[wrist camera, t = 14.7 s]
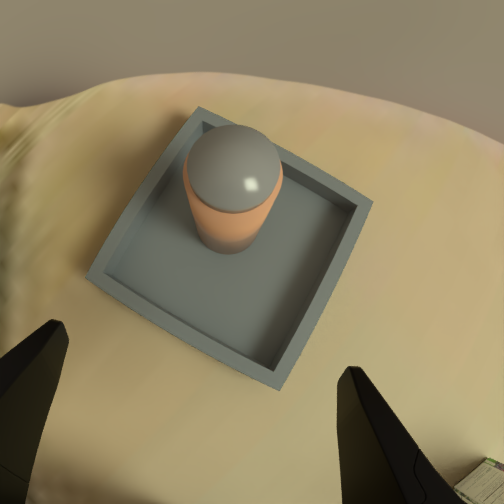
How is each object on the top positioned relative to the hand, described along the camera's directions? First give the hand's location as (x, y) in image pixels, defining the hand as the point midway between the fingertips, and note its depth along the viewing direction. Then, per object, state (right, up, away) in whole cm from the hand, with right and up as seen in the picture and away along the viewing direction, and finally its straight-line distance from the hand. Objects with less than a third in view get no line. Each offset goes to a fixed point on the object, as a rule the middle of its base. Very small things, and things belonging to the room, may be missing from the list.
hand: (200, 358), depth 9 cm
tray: (0, +4, +15) cm, 15 cm away
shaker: (0, +5, +14) cm, 15 cm away
